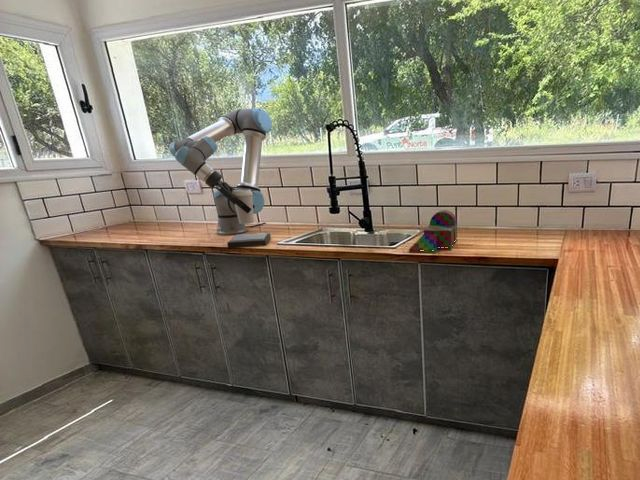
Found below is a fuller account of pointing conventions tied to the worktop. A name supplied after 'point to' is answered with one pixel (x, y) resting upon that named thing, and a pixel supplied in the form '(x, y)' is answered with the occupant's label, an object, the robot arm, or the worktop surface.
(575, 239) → the worktop surface
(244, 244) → the kitchen scale
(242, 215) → the coffee cup
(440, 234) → the block
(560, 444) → the worktop surface
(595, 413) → the worktop surface
